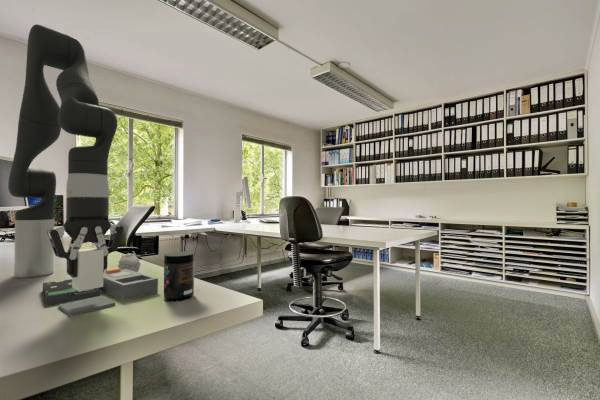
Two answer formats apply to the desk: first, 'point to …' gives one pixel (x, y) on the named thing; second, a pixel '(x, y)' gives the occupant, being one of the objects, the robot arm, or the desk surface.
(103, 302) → the mat
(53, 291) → the disk drive
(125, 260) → the frog figurine
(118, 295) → the desk organizer
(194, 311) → the desk surface
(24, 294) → the desk surface
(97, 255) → the charger
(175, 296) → the supplement container
